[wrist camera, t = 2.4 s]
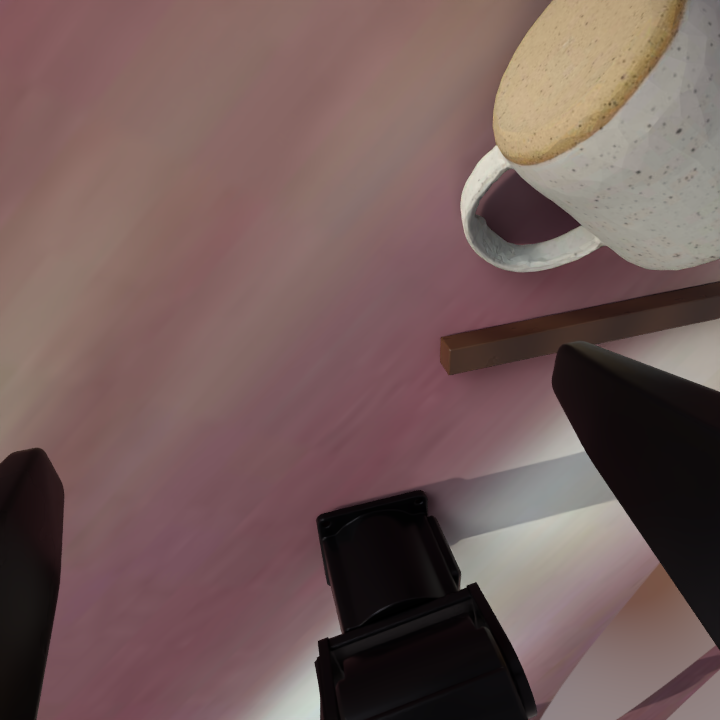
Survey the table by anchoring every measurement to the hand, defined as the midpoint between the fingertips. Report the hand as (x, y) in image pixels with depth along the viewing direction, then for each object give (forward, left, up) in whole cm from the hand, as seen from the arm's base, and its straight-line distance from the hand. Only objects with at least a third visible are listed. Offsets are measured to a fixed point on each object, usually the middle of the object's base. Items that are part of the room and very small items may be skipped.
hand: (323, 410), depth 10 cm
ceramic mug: (+12, 0, -13) cm, 18 cm away
